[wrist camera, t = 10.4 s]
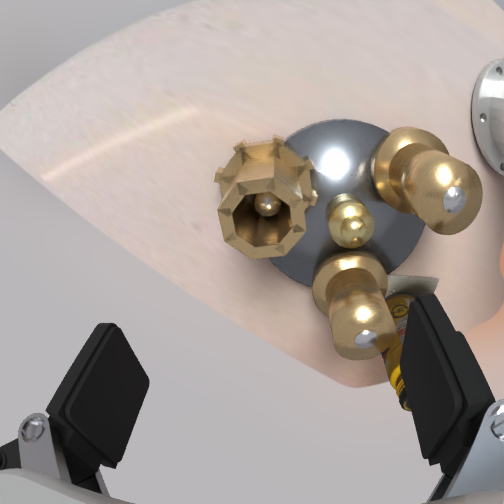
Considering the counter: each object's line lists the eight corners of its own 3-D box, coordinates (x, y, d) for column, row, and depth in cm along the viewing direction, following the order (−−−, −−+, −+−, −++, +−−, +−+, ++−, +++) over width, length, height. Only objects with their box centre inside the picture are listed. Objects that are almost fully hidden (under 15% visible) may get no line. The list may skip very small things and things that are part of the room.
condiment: (360, 335, 34) (381, 420, 24) (379, 273, 30) (417, 359, 20) (414, 335, 34) (445, 413, 23) (438, 276, 30) (486, 353, 19)
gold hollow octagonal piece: (307, 130, 23) (321, 146, 16) (318, 220, 27) (331, 269, 20) (211, 145, 24) (183, 167, 17) (229, 231, 28) (213, 282, 21)
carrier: (435, 114, 22) (497, 130, 14) (428, 289, 31) (462, 348, 22) (237, 132, 25) (217, 152, 17) (272, 311, 33) (269, 380, 25)
